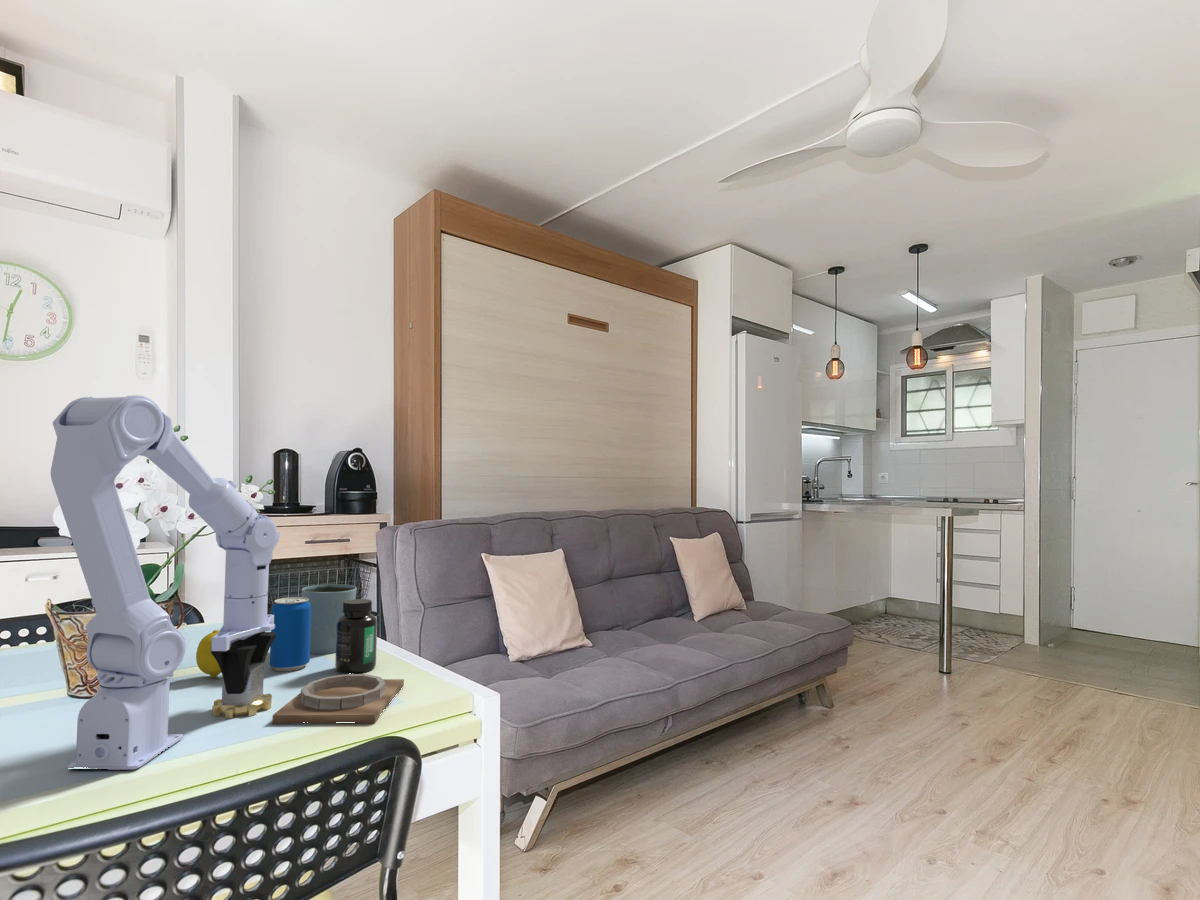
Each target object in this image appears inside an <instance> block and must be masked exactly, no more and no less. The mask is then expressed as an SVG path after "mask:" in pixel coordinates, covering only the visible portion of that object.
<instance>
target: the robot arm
mask: <svg viewBox="0 0 1200 900" xmlns="http://www.w3.org/2000/svg"><path fill="white" fill-rule="evenodd" d="M52 426H53V428H54V429H53V430H54V431H55V435H56V441H55V446H54V452H53V458H52V462H51V468H50V479H51V483H52V485H53V486H52V487H53V489H54V491H55V494H56V497H57V501H58V503H59V505H60V509H61V512H62V514H63V515H62V516H63V518H64V521H65V525H66V526H67V529H68V532H69V535H70V538H71V542H72V545H73V548H74V551H75V553H76V555H77V556H76V557H77V559H78V561H79V565H80V568H81V571H82V573H83V577H84V580H85V583H86V585H87V589H88V593H89V595H90V598H91V600H92V601H91V602H92V604H93V607H94V610H95V612H96V614H95V615H94V616H93V617H92V618H91V619H90V620H89V621H88V622H87V623H86V625H85V630H86V632H87V637H88V643H87V648H86V654H85V655H86V660H87V662H88V664H89V665H90V667H91V668H92V669H93V670H94V671H97V673H96V674H97V676H96V677H97V678H96V680H97V681H99V686H98V688H97V691H96V693H95V694H94V696H92V697H91V698H90V699H88V700H87V701H85V703H84V704H83V705H82V706H81V708H80V709H79V712H78V715H77V726H76V727H77V728H76V750H75V760H74V761H73V762H71V763H70V764H68V765H67V769H68V768H74V767H83V768H84V767H86V768H87V767H88V768H97V769H108V771H110V770H111V771H112V770H113V771H115V770H118V771H119V770H120V771H121V770H124V771H127V770H137V769H140V767H142V766H144V765H145V764H147V763H148V762H150V761H151V760H153V759H154V758H156V757H157V756H158V754H159V755H160V754H162V753H163V752H165V751H166V750H167V749H169V748H170V747H172V746H173V745H175V744H176V743H178V742H179V741H181V740H182V739H183V738H184V734H182V733H169V710H170V709H169V708H170V707H169V706H170V684H171V683H170V682H171V678H173V677H174V672H175V671H176V670H177V669H178V667H179V666H180V665H181V663H182V661H183V660H184V657H185V654H186V639H185V636H184V635H183V634H182V632H181V631H180V630H179V629H177V628H176V627H175V626H174V624H173V623H172V622H173V621H171V617H170V614H168V612H167V611H165V610H164V609H163V607H161V606H159V604H157V602H155V601H154V600H152V598H151V596H150V592H149V589H148V586H147V583H146V580H145V577H144V573H143V570H142V567H141V564H140V559H139V558H138V554H137V551H136V548H135V544H134V541H133V538H132V535H131V531H130V528H129V525H128V522H127V518H126V515H125V512H124V510H123V509H124V508H123V506H122V502H121V500H120V496H119V493H118V489H117V486H116V483H115V479H116V478H117V477H118V476H119V474H120V473H121V472H122V470H124V469H123V468H125V466H126V465H127V464H129V463H130V462H132V461H133V460H134V459H136V458H137V457H138V456H141V457H145V458H147V459H148V460H149V461H150V462H152V463H153V464H154V465H156V467H157V468H159V469H160V470H161V471H162V472H163V473H165V474H166V476H168V477H169V478H170V479H171V480H172V481H174V482H175V483H176V484H178V485H179V486H180V487H181V488H182V489H183V490H185V491H186V493H188V494H189V496H188V506H189V508H190V509H191V510H192V511H193V512H194V513H195V514H197V516H198V517H200V518H201V519H202V520H203V522H205V524H207V525H208V526H209V527H210V528H211V529H212V530H213V532H215V541H216V543H217V544H216V545H217V546H218V547H219V548H220V549H221V548H222V549H223V550H224V551H225V564H224V565H225V566H224V570H225V571H224V573H225V574H224V597H223V619H222V620H223V621H222V622H223V625H222V626H221V628H220V629H218V630H219V632H218V633H217V635H215V636H214V637H212V646H211V654H212V655H213V656H214V658H215V659H216V661H217V663H218V665H219V667H220V669H221V674H222V681H223V680H224V684H225V688H226V691H227V694H242V693H243V692H244V689H245V685H246V680H247V673H248V667H249V663H250V662H264V663H265V662H266V658H267V656H268V653H269V652H270V646H271V644H272V643H273V641H274V639H275V637H276V633H275V632H271V630H273V629H274V628H275V624H274V615H271V614H268V603H269V602H268V601H269V600H268V599H269V597H268V596H269V572H270V569H269V568H270V564H271V563H272V562H271V561H272V560H273V554H274V553H273V552H274V549H275V548H276V546H277V544H278V542H279V539H280V534H281V533H280V531H279V532H278V528H277V526H276V523H275V522H274V521H273V520H272V518H271V517H269V516H267V515H263V514H259V513H258V511H256V507H255V506H254V504H252V503H249V502H248V501H247V499H245V498H244V497H243V495H241V494H240V492H238V490H237V489H236V488H238V486H237V484H236V483H235V482H234V481H233V480H227V479H226V478H222V477H214V478H213V477H212V476H211V474H210V473H209V472H208V471H207V470H206V468H205V467H204V466H203V465H202V464H201V462H200V461H199V460H198V458H197V457H196V456H195V455H194V454H193V452H192V451H191V450H190V449H189V447H187V445H186V444H185V443H184V442H183V441H182V440H181V439H182V438H180V437H179V435H178V434H177V433H176V432H175V430H174V429H173V420H172V418H171V417H169V416H168V415H167V414H166V413H165V412H162V409H161V408H160V407H159V405H158V404H157V403H156V402H155V401H154V400H152V399H151V398H149V397H147V396H144V395H139V394H134V395H127V396H116V397H113V396H112V397H92V396H89V397H88V396H85V397H78V398H76V399H74V400H71V402H69V403H68V404H67V405H66V406H65V408H63V409H62V411H61V412H60V413H59V415H57V416H56V417H55V419H54V420H53V421H52ZM168 747H169V748H168ZM165 749H166V750H165ZM162 751H163V752H162ZM161 752H162V753H161Z"/></svg>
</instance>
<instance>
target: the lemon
mask: <svg viewBox="0 0 1200 900" xmlns="http://www.w3.org/2000/svg"><path fill="white" fill-rule="evenodd" d="M219 630H220V629H214V630H212V632H210V633H207V635H205V636H203V638H202V639H201V640H200V641H199V643H198V645H197V649H196V652H195V660H196V664H197V667H198V669H199V670H200V671H201V672H202V673H203V674H206V675H209V676H210V677H211V678H217V677H219V675H220V674H222V672H221V669H220V667H219V665H218V663H217V661H216V659H215V658H214V656H213V655H212V654H211V646H212V637H214V636H215V635H217V633H218V632H219Z"/></svg>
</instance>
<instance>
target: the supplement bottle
mask: <svg viewBox="0 0 1200 900" xmlns="http://www.w3.org/2000/svg"><path fill="white" fill-rule="evenodd" d="M372 605H373V602H372V600H371V599H369V598H355V599H353V600H347V601H344V602H343V610H342V613H344V616H342V617H341V618H340V619H339V620H338V621H337V625H336V653H335V661H334V662H335V663H334V664H335V670H336V672H337V673H339V672H340V673H339V674H342V673H345V674H346V673H348V674H349V673H351V674H352V673H359V674H364V673H367V671H368V672H370V671H369V670H371V671H373V670H374V669H375V668H376V666H377V665H376V664H377V644H378V643H377V642H378V638H377V635H378V619H377V618H376V617H375V615H373V614H371V612H372V611H373V608H372V607H373V606H372ZM373 668H374V669H373ZM363 672H364V673H363ZM346 675H347V674H346Z"/></svg>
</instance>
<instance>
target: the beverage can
mask: <svg viewBox="0 0 1200 900" xmlns="http://www.w3.org/2000/svg"><path fill="white" fill-rule="evenodd" d="M308 600H309V599H308V598H306V597H302V596H291V597H282V598H278V599H275V600H274V601H273V602H274V604H273V605H272V607H271V610H270V611H271V612H270V615H274V624H275V628H274V629H273V630H271V631H270V632H275V633H276V637H275V639H274V641H273V643H272V644H271V646H270V648H269V666H270V667H271V668H273V669H274V670H275V671H276V672H293V671H297V670H301V669H303V668H305V667H306V665H307V664H309V663H310V658H311V656H310V655H311V654H310V629H311V604H310V603H309V601H308Z"/></svg>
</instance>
